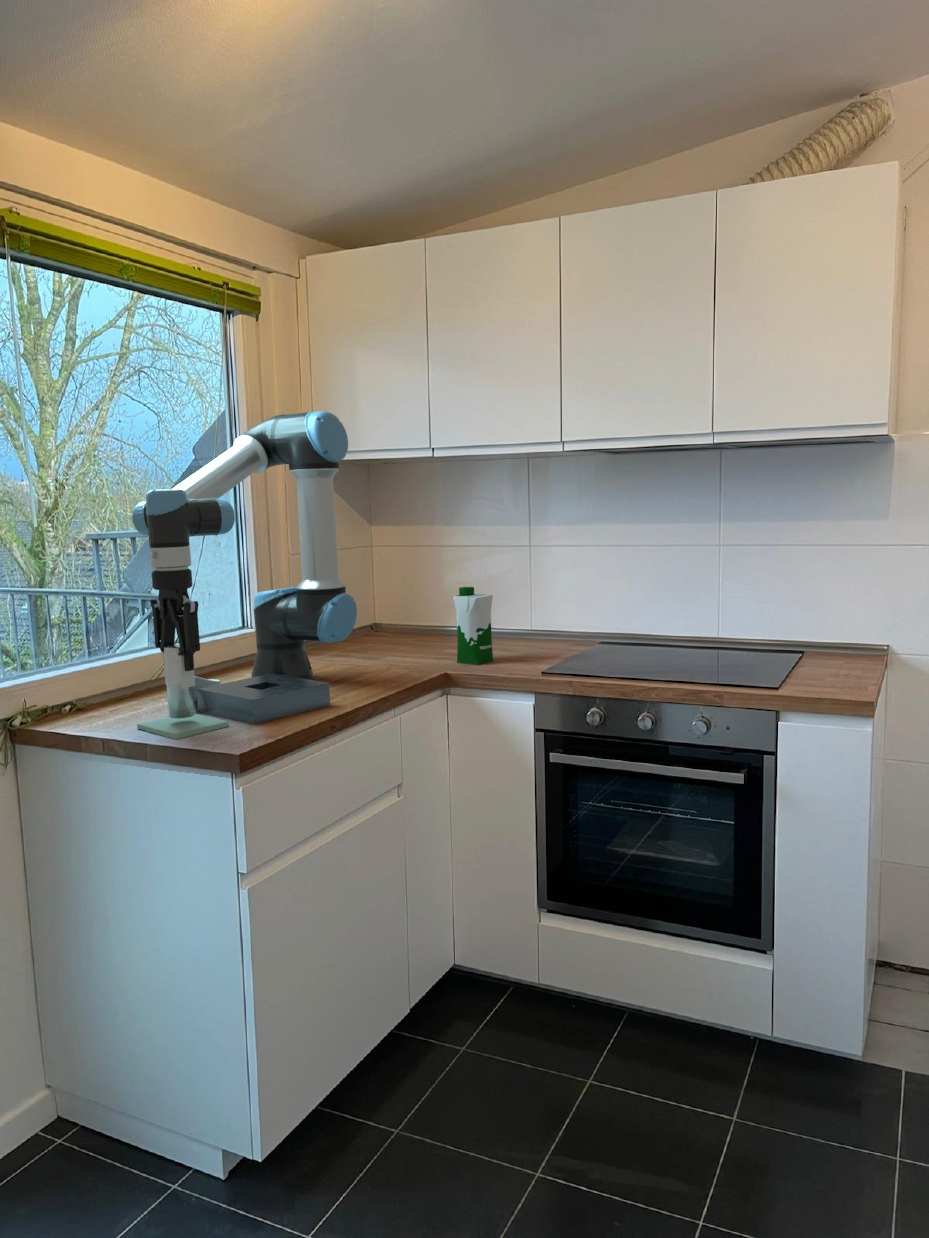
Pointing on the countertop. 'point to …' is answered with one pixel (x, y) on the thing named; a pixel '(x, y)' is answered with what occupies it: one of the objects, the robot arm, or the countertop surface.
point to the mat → (183, 726)
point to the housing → (263, 698)
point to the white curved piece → (203, 685)
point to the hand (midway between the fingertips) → (180, 684)
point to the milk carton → (473, 627)
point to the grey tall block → (177, 686)
